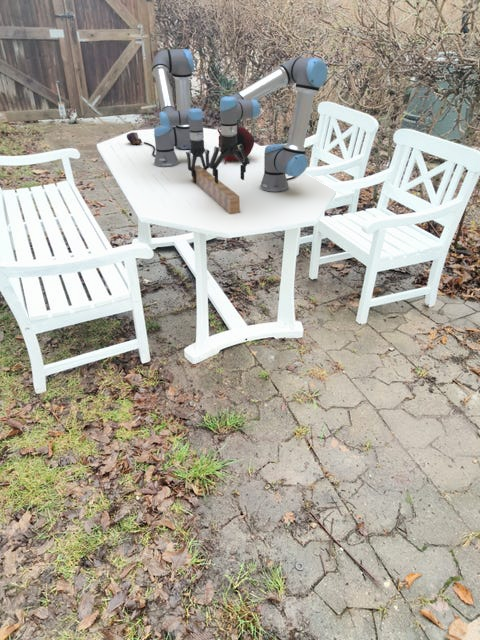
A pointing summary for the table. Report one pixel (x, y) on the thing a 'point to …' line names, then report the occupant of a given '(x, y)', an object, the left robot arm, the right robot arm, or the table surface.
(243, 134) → the decorative skull
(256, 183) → the table surface
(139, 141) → the rock
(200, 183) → the post
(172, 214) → the table surface
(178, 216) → the table surface
